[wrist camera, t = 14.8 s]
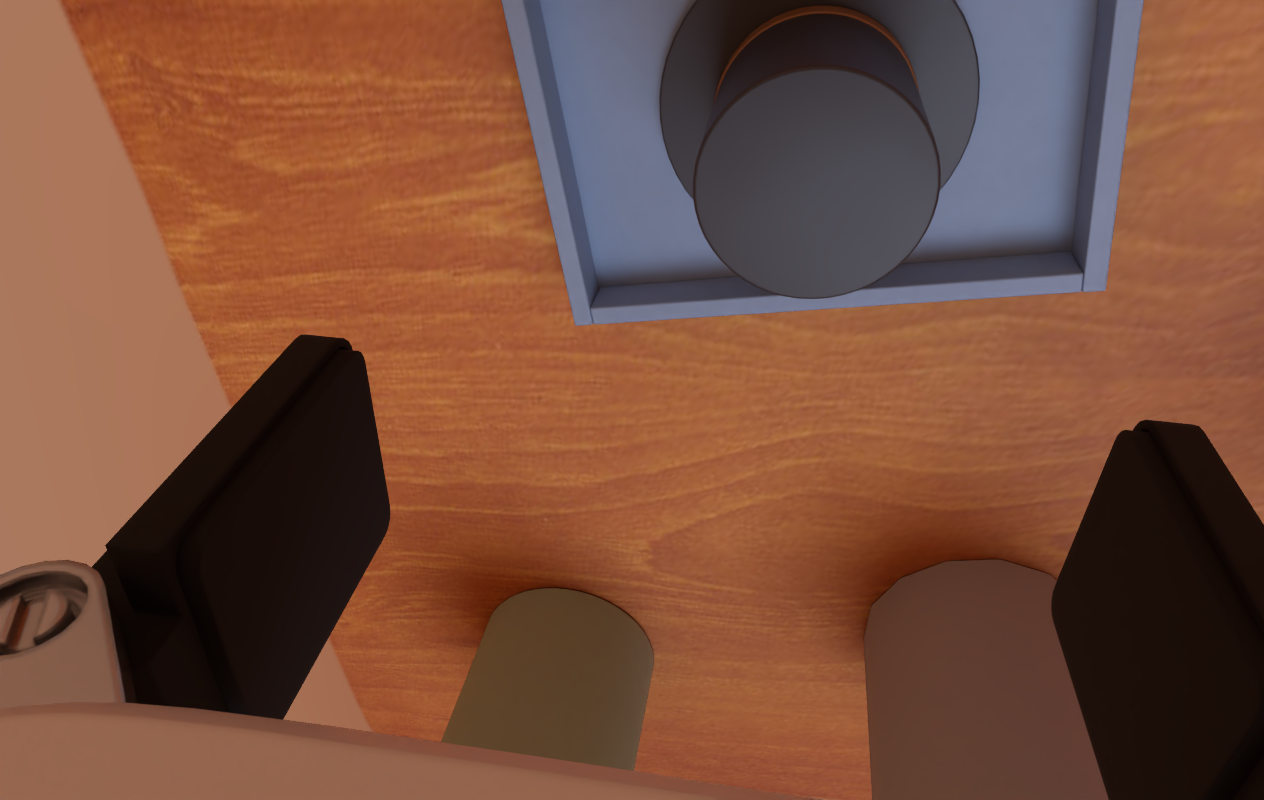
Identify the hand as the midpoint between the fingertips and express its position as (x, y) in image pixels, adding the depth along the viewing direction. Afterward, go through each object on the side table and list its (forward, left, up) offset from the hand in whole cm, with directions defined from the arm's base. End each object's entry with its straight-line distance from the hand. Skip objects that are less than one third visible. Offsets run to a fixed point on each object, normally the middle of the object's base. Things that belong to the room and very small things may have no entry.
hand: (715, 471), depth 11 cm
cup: (+19, -12, -17) cm, 28 cm away
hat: (+1, +1, -16) cm, 16 cm away
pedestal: (+7, -24, -17) cm, 30 cm away
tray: (+1, +1, -17) cm, 17 cm away
